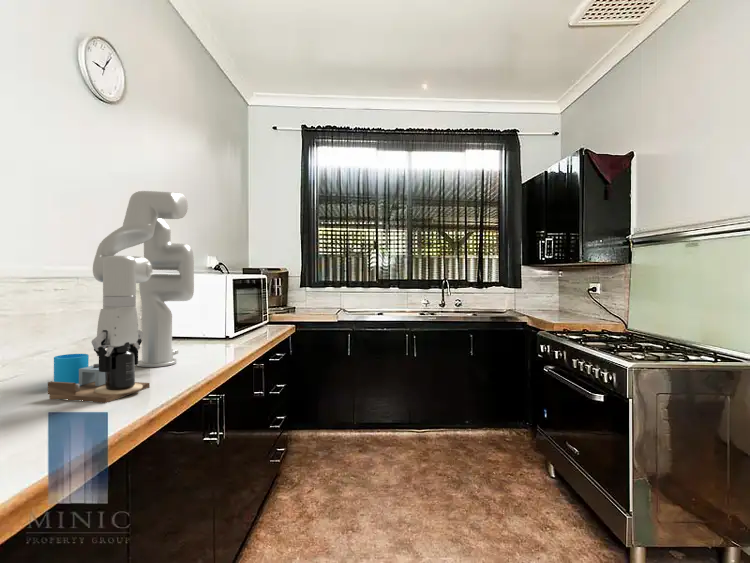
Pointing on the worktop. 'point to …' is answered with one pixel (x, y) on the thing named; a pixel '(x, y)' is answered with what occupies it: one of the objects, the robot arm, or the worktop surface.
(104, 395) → the board
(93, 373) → the cover
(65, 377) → the mug
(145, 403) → the worktop surface
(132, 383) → the supplement bottle
